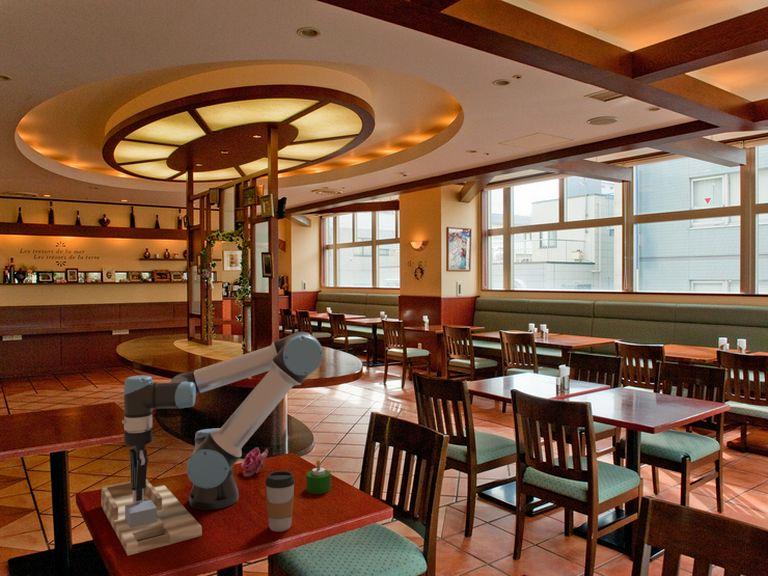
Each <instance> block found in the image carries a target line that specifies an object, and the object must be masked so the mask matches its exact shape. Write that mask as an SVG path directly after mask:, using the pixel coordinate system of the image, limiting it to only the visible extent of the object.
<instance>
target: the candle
mask: <svg viewBox="0 0 768 576" xmlns="http://www.w3.org/2000/svg"><path fill="white" fill-rule="evenodd" d="M321 463H322V462H321V461H320V460H319V459H318V460H317V461H316V464H315V465H316V467H315V468H312V469H311V470H309V471H307V472H306V474H305V475H306V477H305V478H306V479H305V480H306V482H305V483H306V484H305V485H306V486H305V489H306V492H307V493H309V494H312V495H323V494H327V493H329V492H330V491H331V489H332V488H331V487H332V484H331V483H332V478H331V477H332V475H331V474H332V473H331V471H330V470H328V469H325V468H324V467H321V465H322V464H321Z"/></svg>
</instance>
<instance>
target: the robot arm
mask: <svg viewBox="0 0 768 576" xmlns="http://www.w3.org/2000/svg"><path fill="white" fill-rule="evenodd" d="M323 353H324V352H323V347H322V344H321V343H320V341H319V340H318V339H317V338H316V337H315V336H314V335H313V334H311V333H310V332H306V331H297V332H294V333H292V334H289V335H287V336H285V337H283V338H280V339H278V340H277V339H276V340H275V341H272V342H271V345H268V346H266V347H263V348H259V349H257V350H253V351H250V352H248V353H245V354H241V355H238V356H235V357H232V358H229V359H226V360H222V361H219V362H216V363H214V364H210V365H207V366H204V367H200V368H198V369H195V370H192V371H188V372H186V373H185V372H184V373H183V372H182V373H179V374H177V375H175V376H174V377H172V379H171V380H170V381H169V382H154V381H153V377H152V376H151V375H132V376H128V377H127V378H126V379H125V380H124V388H123V389H124V390H123V408H124V409H123V417H124V419H123V420H121V423H122V424H123V429H124V433H123V444H124V445H125V446H127V447H131V448H129V449H128V452H129V469H130V481H131V483H132V487H134V488H131V489H132V491H133V504H134V503H138V502H143V501H144V488H146V479H147V471H148V470H147V469H148V462H149V459H148V457H147V455H148V452H147V449H146V447H145V446H146V445H148V444H150V443H152V441H153V429H152V428H153V410H156V409H157V410H158V409H184V408H192V407H194V406H195V403H196V400H197V399H196V397H197V395H199V394H202V393H205V392H208V391H211V390H215V389H217V388H221V387H223V386H227V385H229V384H232V383H235V382H238V381H241V380H245V379H247V378H250V377H254V376H257V375H260V374H263V373H266V372H267V373H266V374H265V375H264V376H263V377H262V379H261V380H260V381H259V382H258V384H257V385H256V386H255V387H254V388H253V389H252V390H251V392H250V393H249V394H248V395H247V397H246V398H245V399H244V400H243V401H242V402H241V404H240V405H239V406H237V408H236V409H235V411H234V412H233V413H232V414H231V415H230V416H229V418H228V419H227V420H226V421H225V422H224V424H223V425H221V427H220V428H219V427H217V428H215V427H214V428H205V429H200V430H198V431H196V432H195V433H194V434H195V437H194V441H195V442H194V443H195V444H194V449H193V452H192V453H191V455H190V457H189V458H188V461H187V465H186V474H187V477H188V479H189V480H190V482H191V483H192V484H193V485H192V488H191V491H190V494H189V499H188V500H189V502H188V504H189V506H190V507H191V508H192V509H195V510H202V511H209V510H219V509H224V508H226V507H230V506H232V505H234V504H236V503H237V502H238V501H239V489H238V486H237V483H236V480H235V477H234V465H235V464H236V463H237V462H238V460H239V459H240V458H241V457H242V455H243V453H242V448H243V447H244V446H245V444H246V443H247V442H248V441H249V440H250V438H251V437H252V436H253V435H254V434H255V432H256V431H257V430H258V429H259V428H260V426H261V425H262V424H263V423H264V422H265V421H266V419H267V418H268V416H270V415H271V413H272V412H273V411H274V410H275V408H277V406H278V405H279V404H280V402H281V401H283V399H284V398H285V396H286V395H287V394H288V393H289V392H290V391H291V389H292V388H293V387H294V386H300V385H302V384H303V383H304V381H305V380H306V379H307V378H308V377H309V376H310V375H311V374H312V373H314V372H315V371H317V370H318V368H319V367H320V366H321V364H322V361H323V359H324V358H323V357H324V354H323Z"/></svg>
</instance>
